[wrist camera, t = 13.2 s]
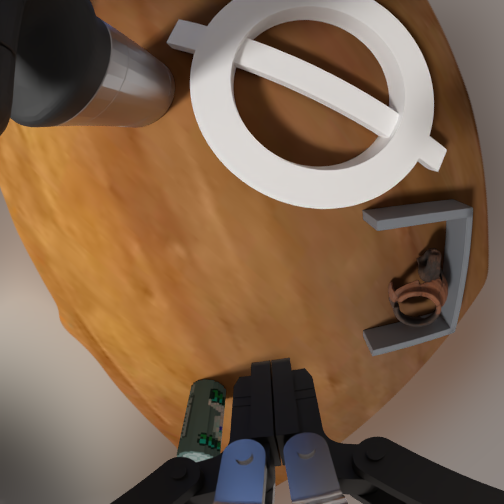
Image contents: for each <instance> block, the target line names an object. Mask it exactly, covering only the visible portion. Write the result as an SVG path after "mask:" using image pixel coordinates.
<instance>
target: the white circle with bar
mask: <svg viewBox="0 0 504 504" xmlns="http://www.w3.org/2000/svg"><path fill="white" fill-rule="evenodd" d="M295 20H315V21H321V22H325V23H329V24H332V25H335V26H337V27H340V28H342V29H344V30H346V31H348V32H349V33H351V34H353V35H354V36H355V37H357V38H358V39H359V40H360V41H362V42H363V43H364V44H365V45H366V46H367V47H368V48H369V49H370V50H371V52H372V53H373V54H374V56H375V57H376V58H377V60H378V62H379V63H380V65H381V67H382V69H383V72H384V74H385V77H386V80H387V84H388V89H389V107H388V106H386V105H385V104H383V103H381V102H380V101H378V100H377V99H375V98H373V97H372V96H370V95H368V94H367V93H365V92H363V91H362V90H360V89H358V88H356V87H355V86H353V85H351V84H349V83H347V82H345V81H344V80H342V79H340V78H338V77H336V76H334V75H332V74H330V73H328V72H326V71H324V70H322V69H320V68H318V67H316V66H314V65H312V64H310V63H308V62H305V61H303V60H301V59H299V58H296V57H294V56H292V55H290V54H287V53H285V52H282V51H280V50H277V49H275V48H272V47H270V46H267V45H264V44H262V43H259V42H256V41H254V39H255V38H256V37H257V36H258V35H259V34H261V33H262V32H264V31H265V30H267V29H269V28H271V27H273V26H275V25H278V24H281V23H284V22H289V21H295ZM166 43H167V44H168V45H169V46H170V47H171V48H173V49H177V50H180V51H184V52H188V53H192V54H194V56H193V60H192V66H191V73H190V93H191V100H192V106H193V110H194V114H195V117H196V120H197V123H198V125H199V128H200V130H201V132H202V134H203V136H204V138H205V139H206V141H207V143H208V145H209V146H210V148H211V149H212V150H213V152H214V153H215V155H216V156H217V157H218V158H219V160H220V161H221V162H222V163H223V164H224V165H225V166H226V167H227V168H228V169H229V170H230V171H231V172H232V173H233V174H234V175H236V176H237V177H238V178H239V179H241V180H242V181H243V182H245V183H246V184H247V185H249V186H250V187H252V188H254V189H255V190H257V191H259V192H261V193H263V194H265V195H267V196H269V197H271V198H274V199H276V200H279V201H282V202H285V203H288V204H292V205H296V206H301V207H307V208H318V209H332V208H342V207H348V206H353V205H357V204H360V203H363V202H366V201H369V200H371V199H373V198H375V197H378V196H379V195H381V194H383V193H385V192H386V191H388V190H389V189H391V188H392V187H394V186H395V185H396V184H397V183H399V182H400V181H401V180H402V179H403V178H404V177H405V176H406V175H407V174H408V173H409V172H410V170H411V169H412V168H413V167H414V165H415V164H416V162H417V161H418V162H419V163H420V164H422V165H423V166H425V167H426V168H427V169H429V170H433V171H437V172H438V170H439V168H440V166H441V163H442V161H443V158H444V156H445V154H446V151H447V149H445V148H444V147H443V146H442V145H440V144H439V143H438V142H437V141H435V140H434V139H433V138H432V137H430V136H429V135H430V132H431V128H432V122H433V115H434V94H433V87H432V81H431V77H430V73H429V70H428V67H427V64H426V62H425V59H424V57H423V55H422V53H421V51H420V49H419V47H418V45H417V44H416V42H415V41H414V39H413V38H412V36H411V35H410V33H409V32H408V31H407V29H406V28H405V27H404V26H403V25H402V24H401V23H400V21H399V20H398V19H397V18H396V17H394V16H393V15H392V14H391V13H390V12H389V11H388V10H387V9H385V8H384V7H383V6H381V5H380V4H379V3H377V2H375V1H374V0H233V1H231V2H230V3H229V4H227V5H226V6H225V7H224V8H223V9H222V10H221V11H220V12H218V14H217V15H216V16H215V17H214V18H213V19H212V21H211V22H210V23H209V24H208V26H205V25H201V24H197V23H193V22H189V21H184V20H180V19H179V20H178V22H177V24H176V25H175V27H174V29H173V31H172V33H171V35H170V37H169V39H168V40H167V42H166ZM236 67H237V68H240V69H243V70H245V71H248V72H251V73H253V74H256V75H258V76H261V77H264V78H266V79H269V80H271V81H273V82H276V83H278V84H280V85H283V86H285V87H287V88H290V89H292V90H294V91H296V92H298V93H301V94H303V95H305V96H307V97H309V98H311V99H313V100H315V101H317V102H319V103H321V104H323V105H325V106H327V107H329V108H331V109H333V110H335V111H337V112H339V113H341V114H342V115H344V116H346V117H348V118H350V119H352V120H353V121H355V122H357V123H359V124H360V125H362V126H364V127H365V128H367V129H369V130H371V131H372V132H374V133H375V134H377V135H379V136H378V138H377V139H376V140H375V142H374V143H373V144H372V145H371V146H370V147H369V148H368V149H367V150H365V151H364V152H363V153H362V154H360V155H358V156H357V157H355V158H353V159H351V160H349V161H347V162H344V163H341V164H337V165H332V166H322V167H315V166H306V165H300V164H296V163H293V162H290V161H287V160H285V159H283V158H281V157H279V156H277V155H275V154H273V153H272V152H270V151H269V150H267V149H266V148H265V147H264V146H263V145H261V144H260V143H259V142H258V141H257V140H256V139H255V138H254V137H253V135H252V134H251V133H250V132H249V131H248V129H247V128H246V126H245V125H244V123H243V121H242V119H241V117H240V115H239V113H238V110H237V107H236V103H235V99H234V90H233V83H234V75H235V70H236Z"/></svg>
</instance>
